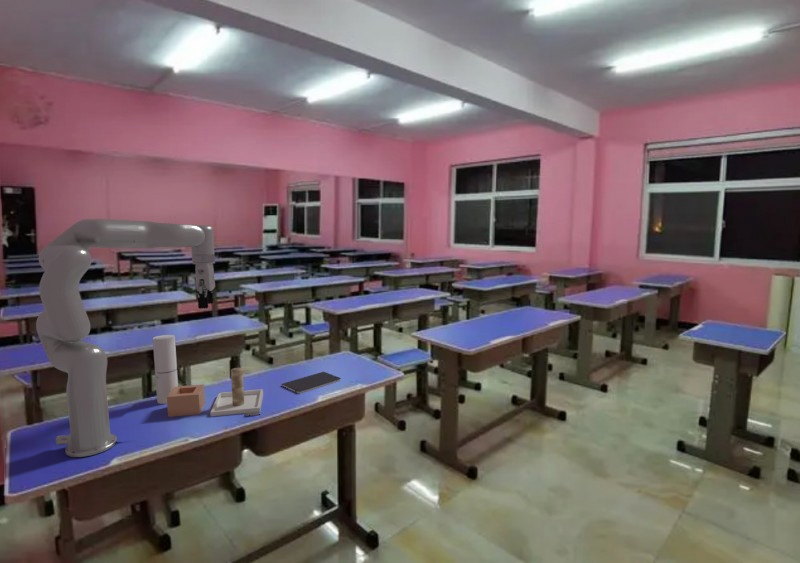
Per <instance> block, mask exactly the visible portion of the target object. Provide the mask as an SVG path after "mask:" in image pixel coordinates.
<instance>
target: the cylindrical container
mask: <svg viewBox="0 0 800 563" xmlns="http://www.w3.org/2000/svg"><path fill="white" fill-rule="evenodd" d="M152 345H153V346H152V348H153V360H154V376H155V389H156V403H158V404H160V405H167V396H168V395H169V393H170V392H171V391H172V389H173V388H174V387H177V386H179V380H178V379H179V378H178V365H177V364H178V363H177V362H178V361H177V350H176V335H174V334H162V335H156V336H154V337H152Z"/></svg>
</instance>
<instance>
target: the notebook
mask: <svg viewBox="0 0 800 563" xmlns="http://www.w3.org/2000/svg"><path fill="white" fill-rule="evenodd" d="M341 379H342V378H341V377H339V376H336V375H335V374H331V373H328V372H326V371H321V372H316V373H314V374H311V375H306V376H304V377H301V378H297V379H293V380H291V381H286V382H284V383H281V387H283V386H284V387H283V388H285V387H286V389H287V388H288V389H287V390H290V391H292V392H294V393H295V394H296V393H297V394H304V393H307V392H309V391H312V390H317V389H319V388H322V387H325V386H330V385H332V384H334V383H337V382H341Z"/></svg>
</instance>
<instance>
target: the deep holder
mask: <svg viewBox="0 0 800 563" xmlns="http://www.w3.org/2000/svg"><path fill="white" fill-rule="evenodd" d="M205 389H206V388H205V384H191V385H178V386H177V387H174V388H173V389H172V391H171V392H170V393H169V395H168V396H167V404H166V405H167V406H166V408H167V417H168V418H172V417H182V416H194V415H195V416H196V415H200V414H201V413H202V411H203V409H204V406H205V404H206V391H205Z"/></svg>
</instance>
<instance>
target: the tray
mask: <svg viewBox="0 0 800 563" xmlns="http://www.w3.org/2000/svg"><path fill="white" fill-rule="evenodd" d="M263 399H264V389H263V388H261V389H251V390H250V389H249V390H244V404H243V405H241V406H233V401H232V391H226V392H225V391H223V392H219V393H218V395H217V397H216V399H215V401H214V403H213V406H212V408H211V410H210V417H219V416H220V417H221V416H231V415H239V414H240V415H243V414H244V415H243V416H244V417H246V416H249V415H250V416H257V415H258V416H259V414H260V415H261V410H262V406H263V405H262V404H263ZM250 416H249V417H250Z"/></svg>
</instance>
